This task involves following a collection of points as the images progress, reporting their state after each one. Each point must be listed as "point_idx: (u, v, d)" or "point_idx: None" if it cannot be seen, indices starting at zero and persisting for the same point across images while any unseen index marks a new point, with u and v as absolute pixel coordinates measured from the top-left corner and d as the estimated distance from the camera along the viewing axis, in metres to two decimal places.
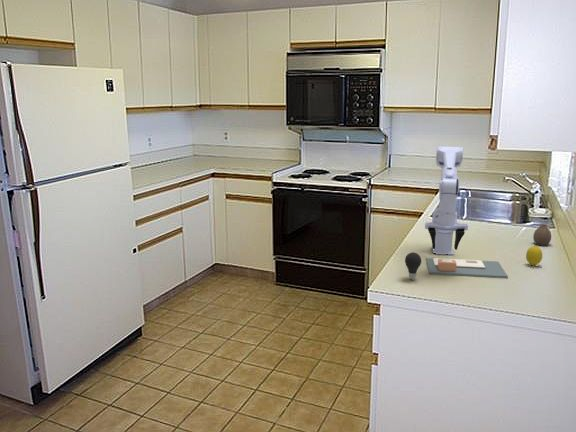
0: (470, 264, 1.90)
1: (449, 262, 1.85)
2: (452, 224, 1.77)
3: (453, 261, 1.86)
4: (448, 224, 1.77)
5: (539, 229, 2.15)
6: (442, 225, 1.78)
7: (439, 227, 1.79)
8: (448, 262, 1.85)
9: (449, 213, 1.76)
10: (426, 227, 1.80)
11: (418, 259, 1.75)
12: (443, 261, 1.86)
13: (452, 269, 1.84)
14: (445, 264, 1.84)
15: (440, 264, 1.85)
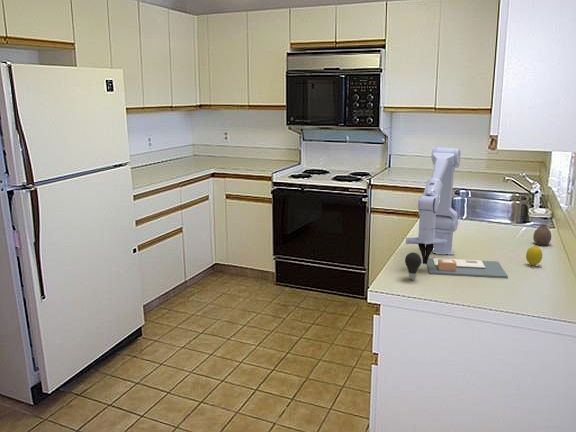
0: (470, 264, 1.90)
1: (449, 262, 1.85)
2: (431, 240, 1.83)
3: (453, 261, 1.86)
4: (427, 240, 1.83)
5: (539, 229, 2.15)
6: (422, 241, 1.83)
7: (419, 242, 1.85)
8: (448, 262, 1.85)
9: (428, 229, 1.82)
10: (406, 242, 1.86)
11: (418, 259, 1.75)
12: (443, 261, 1.86)
13: (452, 269, 1.84)
14: (445, 264, 1.84)
15: (440, 264, 1.85)
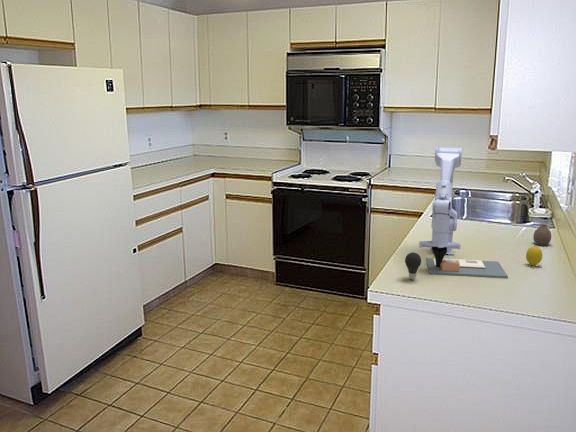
0: (470, 264, 1.90)
1: (452, 262, 1.85)
2: (445, 243, 1.82)
3: (456, 261, 1.86)
4: (441, 243, 1.82)
5: (539, 229, 2.15)
6: (435, 244, 1.83)
7: (432, 246, 1.84)
8: (451, 262, 1.85)
9: (442, 233, 1.81)
10: (420, 246, 1.86)
11: (418, 259, 1.75)
12: (446, 261, 1.85)
13: (455, 269, 1.84)
14: (448, 264, 1.84)
15: (443, 264, 1.85)
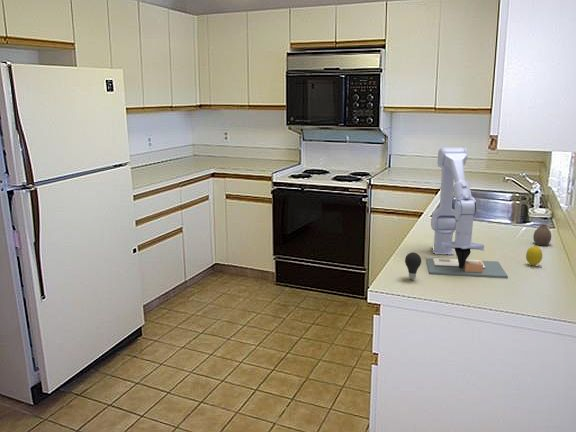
0: None
1: (475, 263, 1.83)
2: (468, 244, 1.81)
3: (479, 262, 1.84)
4: (465, 244, 1.81)
5: (539, 229, 2.15)
6: (459, 245, 1.81)
7: (456, 247, 1.83)
8: (474, 263, 1.83)
9: (466, 234, 1.80)
10: (443, 247, 1.84)
11: (418, 259, 1.75)
12: (469, 262, 1.84)
13: (478, 270, 1.83)
14: (471, 265, 1.83)
15: (466, 265, 1.83)
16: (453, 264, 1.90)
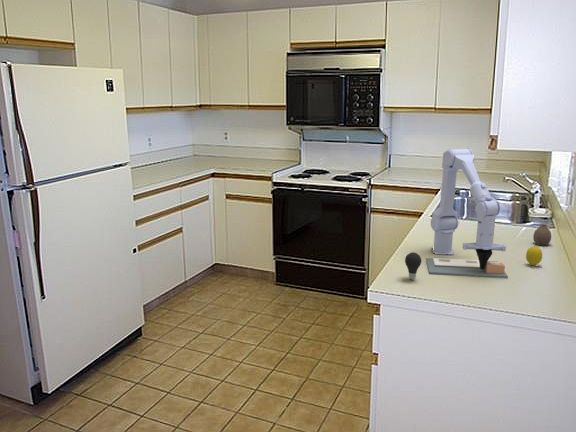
0: (470, 264, 1.90)
1: (497, 264, 1.82)
2: (490, 245, 1.80)
3: (501, 263, 1.83)
4: (486, 245, 1.79)
5: (539, 229, 2.15)
6: (480, 246, 1.80)
7: (477, 248, 1.82)
8: (496, 264, 1.82)
9: (488, 234, 1.78)
10: (464, 248, 1.83)
11: (418, 259, 1.75)
12: (491, 263, 1.83)
13: (500, 272, 1.81)
14: (493, 266, 1.81)
15: (488, 266, 1.82)
16: (453, 264, 1.90)
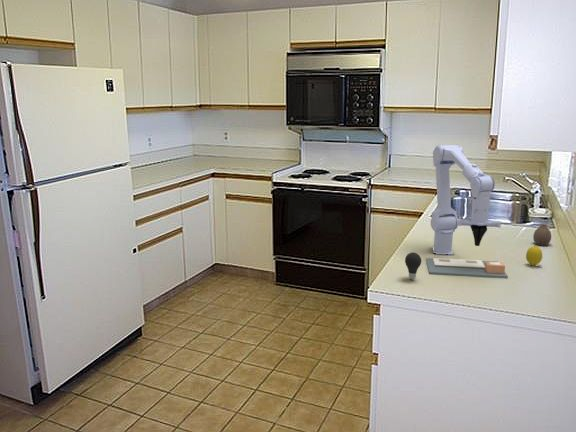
0: (470, 264, 1.90)
1: (497, 264, 1.82)
2: (485, 221, 1.81)
3: (501, 263, 1.83)
4: (481, 221, 1.80)
5: (539, 229, 2.15)
6: (475, 222, 1.81)
7: (472, 224, 1.83)
8: (496, 264, 1.82)
9: (482, 210, 1.79)
10: (459, 224, 1.84)
11: (418, 259, 1.75)
12: (491, 263, 1.83)
13: (500, 272, 1.81)
14: (493, 266, 1.81)
15: (488, 266, 1.82)
16: (453, 264, 1.90)
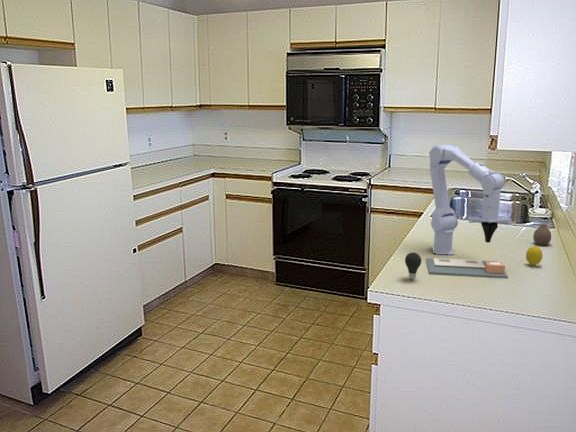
0: (470, 264, 1.90)
1: (497, 264, 1.82)
2: (496, 218, 1.84)
3: (501, 263, 1.83)
4: (492, 218, 1.84)
5: (539, 229, 2.15)
6: (486, 219, 1.85)
7: (483, 221, 1.86)
8: (496, 264, 1.82)
9: (493, 207, 1.83)
10: (470, 221, 1.87)
11: (418, 259, 1.75)
12: (491, 263, 1.83)
13: (500, 272, 1.81)
14: (493, 266, 1.81)
15: (488, 266, 1.82)
16: (453, 264, 1.90)
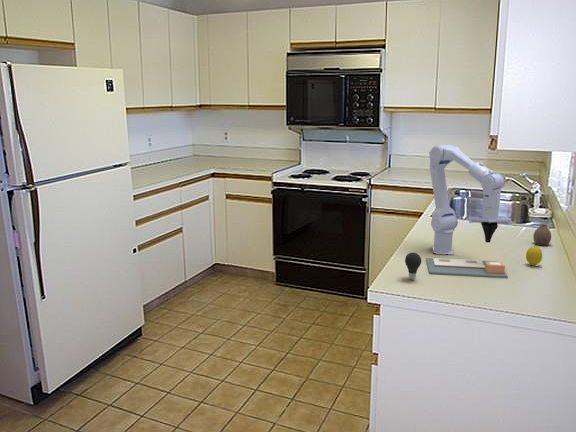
0: (470, 264, 1.90)
1: (497, 264, 1.82)
2: (496, 218, 1.84)
3: (501, 263, 1.83)
4: (492, 218, 1.84)
5: (539, 229, 2.15)
6: (486, 219, 1.85)
7: (483, 221, 1.86)
8: (496, 264, 1.82)
9: (493, 207, 1.83)
10: (470, 221, 1.87)
11: (418, 259, 1.75)
12: (491, 263, 1.83)
13: (500, 272, 1.81)
14: (493, 266, 1.81)
15: (488, 266, 1.82)
16: (453, 264, 1.90)
